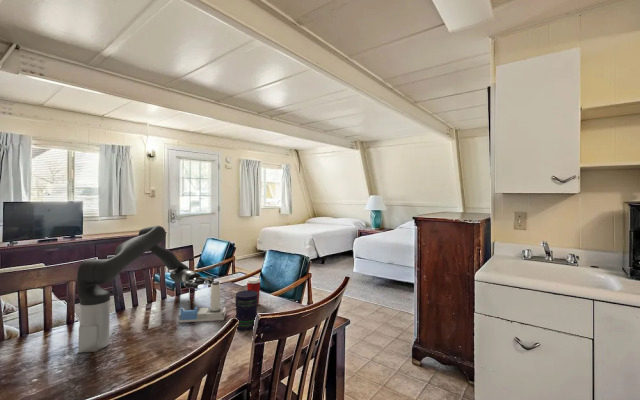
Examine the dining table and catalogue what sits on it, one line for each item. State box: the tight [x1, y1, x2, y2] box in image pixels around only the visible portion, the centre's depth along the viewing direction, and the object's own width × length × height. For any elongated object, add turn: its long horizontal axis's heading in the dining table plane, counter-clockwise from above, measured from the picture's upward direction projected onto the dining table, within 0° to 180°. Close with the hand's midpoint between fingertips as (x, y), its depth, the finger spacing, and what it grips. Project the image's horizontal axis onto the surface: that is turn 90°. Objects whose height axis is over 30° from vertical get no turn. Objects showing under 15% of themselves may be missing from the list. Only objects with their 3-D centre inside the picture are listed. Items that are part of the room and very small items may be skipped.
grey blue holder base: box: [178, 306, 227, 323], centre depth 143 cm, size 8×20×6 cm, turn 101°
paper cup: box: [245, 277, 262, 305], centre depth 162 cm, size 8×8×14 cm
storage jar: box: [235, 290, 259, 332], centre depth 134 cm, size 10×10×15 cm
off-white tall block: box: [209, 280, 222, 313], centre depth 144 cm, size 5×5×16 cm
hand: (205, 285), depth 152 cm, fingers open, 8 cm apart
